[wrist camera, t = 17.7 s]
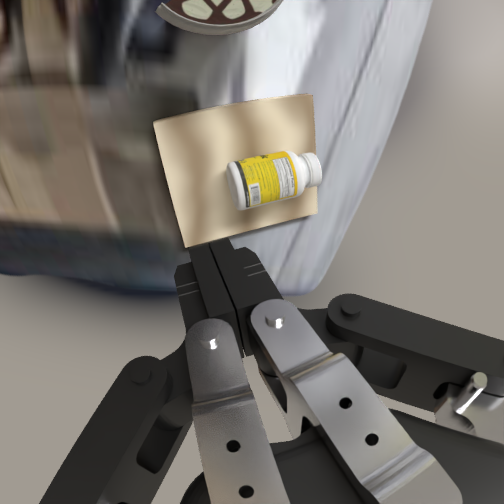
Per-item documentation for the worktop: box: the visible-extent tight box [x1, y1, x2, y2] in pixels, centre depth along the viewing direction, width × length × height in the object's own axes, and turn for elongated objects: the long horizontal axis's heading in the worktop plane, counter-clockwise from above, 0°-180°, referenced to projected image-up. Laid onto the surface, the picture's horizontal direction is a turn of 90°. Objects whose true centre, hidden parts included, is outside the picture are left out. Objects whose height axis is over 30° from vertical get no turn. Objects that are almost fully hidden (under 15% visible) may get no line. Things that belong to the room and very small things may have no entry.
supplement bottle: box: [226, 151, 322, 210], centre depth 33 cm, size 5×5×10 cm
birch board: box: [153, 94, 317, 248], centre depth 36 cm, size 18×16×2 cm
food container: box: [156, 0, 283, 35], centre depth 21 cm, size 12×6×10 cm, turn 126°
